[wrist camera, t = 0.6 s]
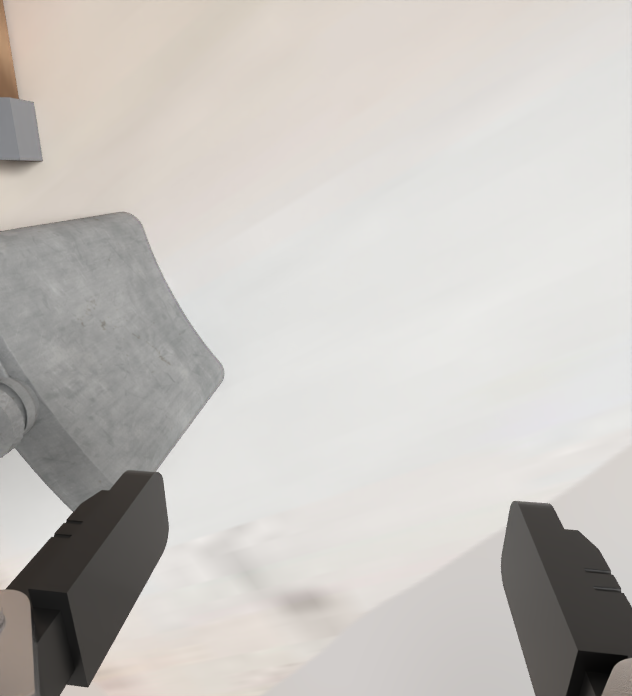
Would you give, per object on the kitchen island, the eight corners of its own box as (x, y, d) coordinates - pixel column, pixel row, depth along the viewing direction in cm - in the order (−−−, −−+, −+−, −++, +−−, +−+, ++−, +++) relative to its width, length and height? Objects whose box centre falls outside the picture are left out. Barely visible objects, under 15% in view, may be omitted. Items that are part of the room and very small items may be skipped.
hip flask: (230, 380, 42) (111, 550, 23) (191, 397, 43) (46, 574, 24) (130, 204, 38) (-113, 238, 19) (89, 228, 39) (-181, 281, 20)
